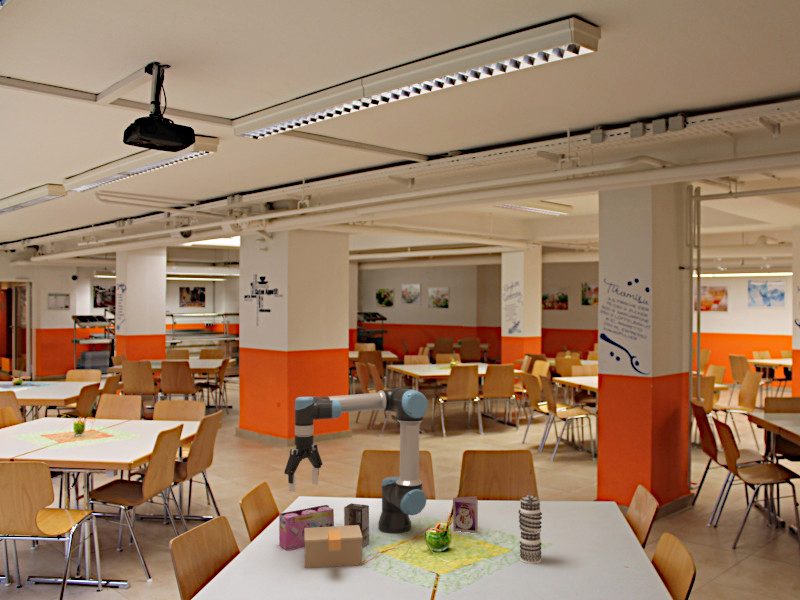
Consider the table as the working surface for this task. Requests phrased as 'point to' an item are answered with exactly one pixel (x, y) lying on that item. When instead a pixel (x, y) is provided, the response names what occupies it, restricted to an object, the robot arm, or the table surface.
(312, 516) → the gum box
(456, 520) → the greeting card
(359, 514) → the coffee box
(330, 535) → the lid flap
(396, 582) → the table surface
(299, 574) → the table surface
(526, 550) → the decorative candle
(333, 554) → the cardboard carton
